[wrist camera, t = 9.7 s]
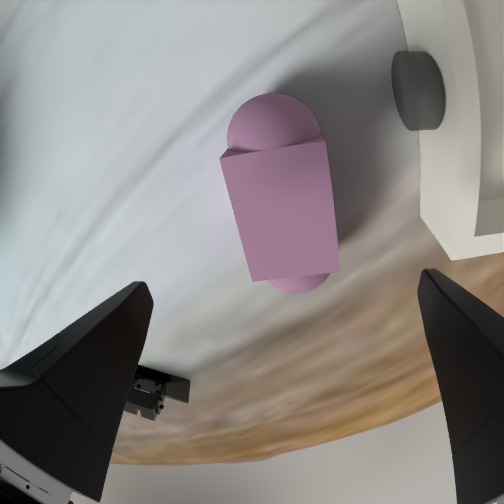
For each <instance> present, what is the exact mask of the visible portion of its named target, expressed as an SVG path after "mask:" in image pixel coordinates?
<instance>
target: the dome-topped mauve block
mask: <svg viewBox="0 0 504 504" xmlns="http://www.w3.org/2000/svg"><path fill="white" fill-rule="evenodd" d="M227 142H228V149H227V150H226V151H225V153H224V154H223V155H222V156H221V158H220V163H221V166H222V170H223V174H224V178H225V181H226V185H227V189H228V193H229V196H230V200H231V204H232V208H233V211H234V215H235V219H236V223H237V226H238V230H239V234H240V237H241V241H242V245H243V249H244V252H245V256H246V260H247V263H248V267H249V271H250V274H251V278H252V282H253V281H262V280H267V281H268V282H269V283H270V284H271V285H273V286H274V287H276V288H278V289H280V290H282V291H285V292H290V293H302V292H307V291H310V290H312V289H314V288H316V287H318V286H319V285H320V284H322V283H323V282H324V281H325V280H326V278H327V277H328V276H329V274H330V273H334V272H340V265H339V252H338V241H337V230H336V220H335V210H334V201H333V193H332V185H331V177H330V169H329V162H328V155H327V148H326V142H325V139H324V137H323V135H322V133H321V131H320V127H319V124H318V121H317V119H316V118H315V116H314V114H313V113H312V112H311V110H310V109H309V108H308V107H307V106H306V105H305V104H303V103H302V102H301V101H299V100H297V99H296V98H293V97H291V96H288V95H284V94H278V93H270V94H263V95H259V96H256V97H254V98H252V99H250V100H248V101H247V102H245V103H244V104H243V105H242V106H241V107H240V108H239V109H238V110H237V111H236V113H235V114H234V116H233V118H232V119H231V122H230V124H229V128H228V134H227Z"/></svg>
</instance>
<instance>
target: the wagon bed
mask: <svg viewBox="0 0 504 504" xmlns="http://www.w3.org/2000/svg"><path fill="white" fill-rule="evenodd" d="M397 3H398V6H399V10H400V14H401V18H402V23H403V27H404V32H405V36H406V41H407V46H408V51H398V52H396V53H395V55H394V57H393V61H392V86H393V93H394V98H395V102H396V106H397V109H398V112H399V115H400V117H401V120H402V122H403V123H404V125H405V126H406V128H407V129H409V130H411V131H415V130H418V131H419V147H420V185H421V189H420V216H421V218H422V219H423V221H424V222H425V223H426V225H427V226H428V227H429V229H430V230H431V231H432V233H433V234H434V236H435V237H436V239H437V240H438V241H439V243H440V244H441V246H442V247H443V249H444V250H445V252H446V253H447V255H448V256H449V258H450V259H451V261H452V260H458V259H465V258H471V257H477V256H483V255H489V254H495V253H501V252H504V0H397Z"/></svg>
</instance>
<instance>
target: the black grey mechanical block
mask: <svg viewBox="0 0 504 504" xmlns="http://www.w3.org/2000/svg"><path fill="white" fill-rule="evenodd" d="M134 387H135V388H137V389H135V388H134ZM138 389H141V390H144V391H147V392H150V393H147V392H144V391H141V390H138ZM189 390H190V380H188V379H184V378H181V377H177V376H173V375H170V374H167V373H163V372H160V371H157V370H153V369H150V368H147V367H144V366H141V365H138V366H137V369H136V372H135V375H134V378H133V381H132V384H131V388H130V391H129V394H128V397H127V401H126V404H125V407H124V411H127V412H129V413H132V414H135V415H137V413H138V410H140V412H141V416H142V417H144V418H147V419H150V420H154V421H155V419H156V416H157V414H159V415H160V412H161V409H163V408H164V405H163V403H164V400H165V397H167V398H170V399H174V400H177V401H181V402H185V403H188V401H189ZM137 409H138V410H137Z"/></svg>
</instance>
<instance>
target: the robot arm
mask: <svg viewBox="0 0 504 504" xmlns="http://www.w3.org/2000/svg"><path fill="white" fill-rule="evenodd" d="M417 294H418V300H419V305H420V310H421V315H422V320H423V325H424V330H425V335H426V339H427V343H428V347H429V350H430V354H431V357H432V361H433V365H434V368H435V372H436V376H437V380H438V384H439V389H440V393H441V397H442V402H443V407H444V411H445V416H446V421H447V427H448V432H449V438H450V444H451V451H452V455H453V456H452V459H453V465H454V474H455V484H456V495H457V504H492V503H494V502H497V504H504V317H502V316H501V315H500V314H498V313H497V312H496V311H494V310H493V309H492V308H490V307H489V306H488V305H486V304H485V303H484V302H482V301H481V300H480V299H478V298H477V297H475V296H474V295H473V294H471V293H470V292H468V291H467V290H466V289H464V288H463V287H461V286H460V285H458V284H457V283H456V282H454V281H453V280H451V279H450V278H448V277H447V276H445V275H444V274H442V273H441V272H440V271H438V270H437V269H435V268H429V269H423V270H422V272H421V277H420V282H419V286H418V292H417ZM152 310H153V299H152V296H151V294H150V291H149V289H148V286H147V284H146V283H145V282H143V281H135V282H132V283H131V284H129V285H128V286H126V287H125V288H123V289H122V290H120V291H119V292H117V293H116V294H114V295H113V296H111V297H110V298H108V299H107V300H105V301H104V302H102V303H101V304H99V305H98V306H97V307H95V308H94V309H92V310H91V311H89V312H88V313H86V314H85V315H83V316H82V317H81V318H79V319H78V320H76V321H75V322H73V323H72V324H70V325H69V326H68V327H66V328H65V329H63V330H62V331H61V332H60V333H58V334H56V335H55V336H53V337H52V338H51V339H49V340H48V341H46V342H45V343H43V344H42V345H40V346H39V347H37V348H36V349H34V350H33V351H31V352H29V353H28V354H26V355H25V356H23V357H22V358H20V359H18V360H17V361H15V362H14V363H12V364H10V365H9V366H7V367H5V368H3V369H1V370H0V504H73V502H72V501H70V500H69V499H70V496H71V494H72V491H74V492H76V493H78V494H81V495H82V496H85V497H87V498H89V499H92V500H94V501H97V502H100V499H101V496H102V492H103V487H104V482H105V479H106V474H107V470H108V466H109V462H110V459H111V455H112V451H113V450H112V449H113V446H114V443H115V439H116V435H117V432H118V428H119V425H120V421H121V418H122V414H123V411H124V407H125V404H126V401H127V397H128V394H129V391H130V388H131V384H132V381H133V378H134V375H135V372H136V369H137V366H138V362H139V359H140V356H141V353H142V350H143V347H144V344H145V340H146V336H147V332H148V327H149V323H150V319H151V314H152Z"/></svg>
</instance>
